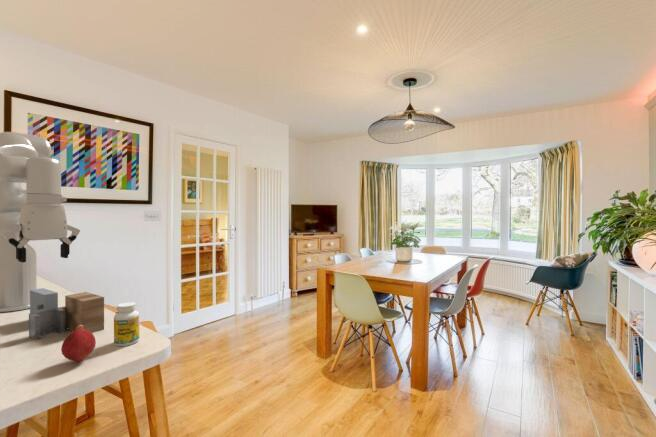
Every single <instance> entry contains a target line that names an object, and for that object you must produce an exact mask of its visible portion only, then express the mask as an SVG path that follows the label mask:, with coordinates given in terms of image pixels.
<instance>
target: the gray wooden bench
mask: <svg viewBox="0 0 656 437" xmlns="http://www.w3.org/2000/svg"><path fill="white" fill-rule="evenodd" d="M66 330H68V329H67V307H65V306H60V307H59V306H58V308H54V309H49V310H44V311H40V312H35V313H30V312H29V313H28V337H29V338H31V339H32V340H35V341H37V340H40V339H41V336H42V335H45V334H49V333H53V332H57V333H59V334H63V333H66Z"/></svg>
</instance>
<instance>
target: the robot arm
mask: <svg viewBox="0 0 656 437" xmlns="http://www.w3.org/2000/svg"><path fill="white" fill-rule="evenodd" d="M51 155H52V146H51V144H50V142H49V141H48V139H46V138H45V137H43V136H39V135H33V134H28V133H27V134H26V133H20V132H16V131H15V132H14V131H3V132H0V313H5V312H15V311H22V310H28V309H30V290H34V289H38V288H37V252H36V251H35V249H34V247H32V246H31V245H30V244H28V243H29V242H30V241H49V240H50V241H51V240H59V241H60V242H61V243H62V244H60V258H62V259H63V258H64V259H68V258H69V255H70V254H71V253H70V252H71V251H70V250H71V249H70V247H71V246H70V245H72V243H74V241H75V240H76V239H77V238H78V236H79V234H80V232H81V230H80V229H78V228H76V227H73V225H70V224H68V221H67V219H68V218H67V214H66V210H65V206H64V205H62V204H63V203H64V202H65V203H66V202H67V201H68V199H67V197H64V196H63V195H62V163H61V161H60V160H59V159H57V158H54V157H53V158H52V157H51ZM21 183H23V184H25V185H26V188H25V189H23V186H22V184H21ZM68 231H70V232H71V234H70V236H68Z"/></svg>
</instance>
